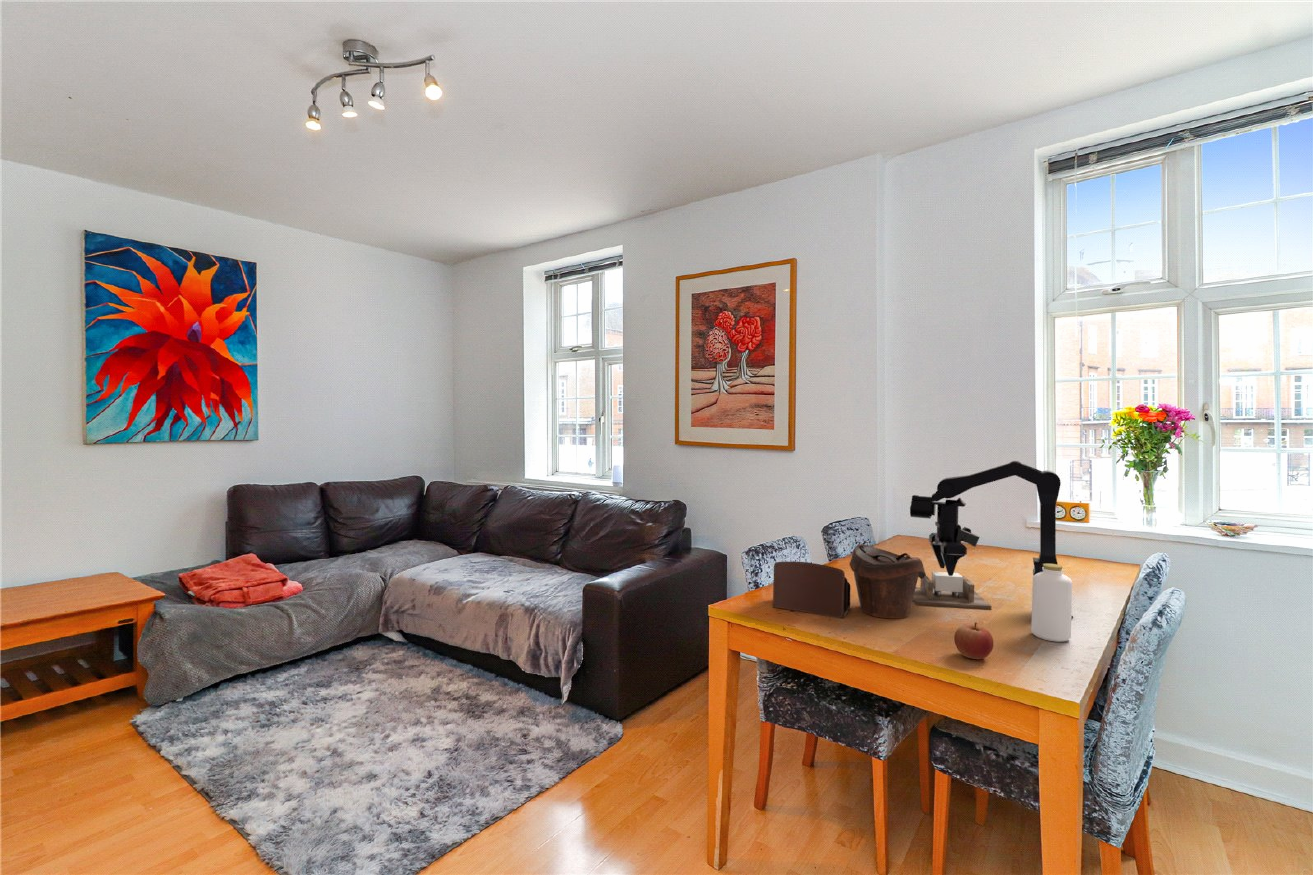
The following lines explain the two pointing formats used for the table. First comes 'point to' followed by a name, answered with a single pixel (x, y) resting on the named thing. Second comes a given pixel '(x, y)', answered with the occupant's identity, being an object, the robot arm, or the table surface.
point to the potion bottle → (1051, 604)
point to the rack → (949, 596)
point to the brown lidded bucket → (885, 581)
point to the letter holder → (811, 589)
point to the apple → (973, 641)
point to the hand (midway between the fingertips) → (946, 571)
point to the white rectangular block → (947, 582)
